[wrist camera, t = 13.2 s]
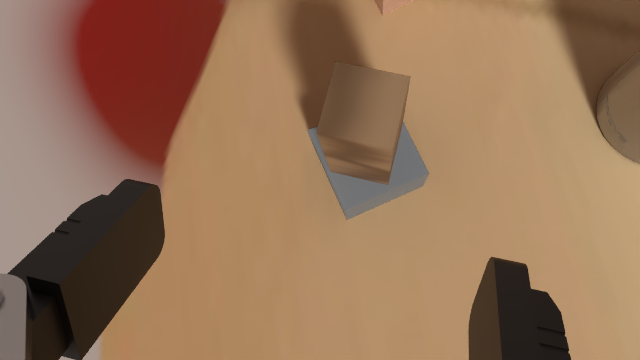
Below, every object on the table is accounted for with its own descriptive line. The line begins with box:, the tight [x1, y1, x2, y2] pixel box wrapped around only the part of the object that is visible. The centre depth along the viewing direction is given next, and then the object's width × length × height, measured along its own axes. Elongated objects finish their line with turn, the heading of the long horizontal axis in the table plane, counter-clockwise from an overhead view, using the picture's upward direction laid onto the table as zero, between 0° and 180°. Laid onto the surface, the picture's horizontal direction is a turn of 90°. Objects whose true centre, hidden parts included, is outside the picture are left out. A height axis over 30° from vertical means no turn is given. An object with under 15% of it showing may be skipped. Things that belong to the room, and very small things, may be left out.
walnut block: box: [316, 61, 411, 185], centre depth 35 cm, size 4×4×10 cm
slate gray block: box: [307, 123, 429, 220], centre depth 42 cm, size 7×7×5 cm
